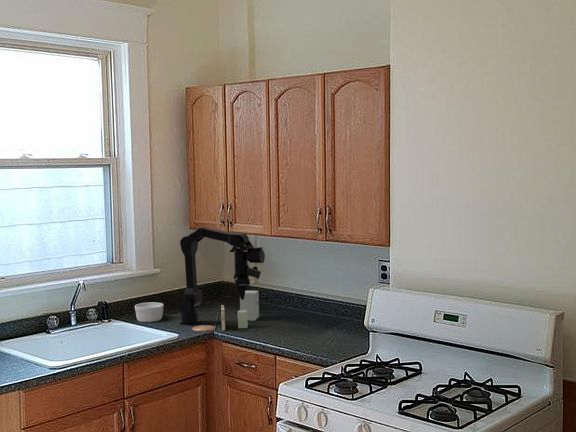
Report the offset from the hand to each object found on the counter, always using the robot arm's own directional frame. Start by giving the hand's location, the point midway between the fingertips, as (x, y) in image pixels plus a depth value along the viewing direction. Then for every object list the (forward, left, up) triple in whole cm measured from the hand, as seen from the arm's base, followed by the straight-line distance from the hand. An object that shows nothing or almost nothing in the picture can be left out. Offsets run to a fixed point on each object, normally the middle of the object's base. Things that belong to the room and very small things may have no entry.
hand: (242, 297), depth 328 cm
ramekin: (-48, 0, -13) cm, 50 cm away
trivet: (-15, -9, -13) cm, 21 cm away
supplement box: (-4, +16, -13) cm, 21 cm away
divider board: (-7, -4, -13) cm, 16 cm away
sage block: (0, 0, -13) cm, 13 cm away
